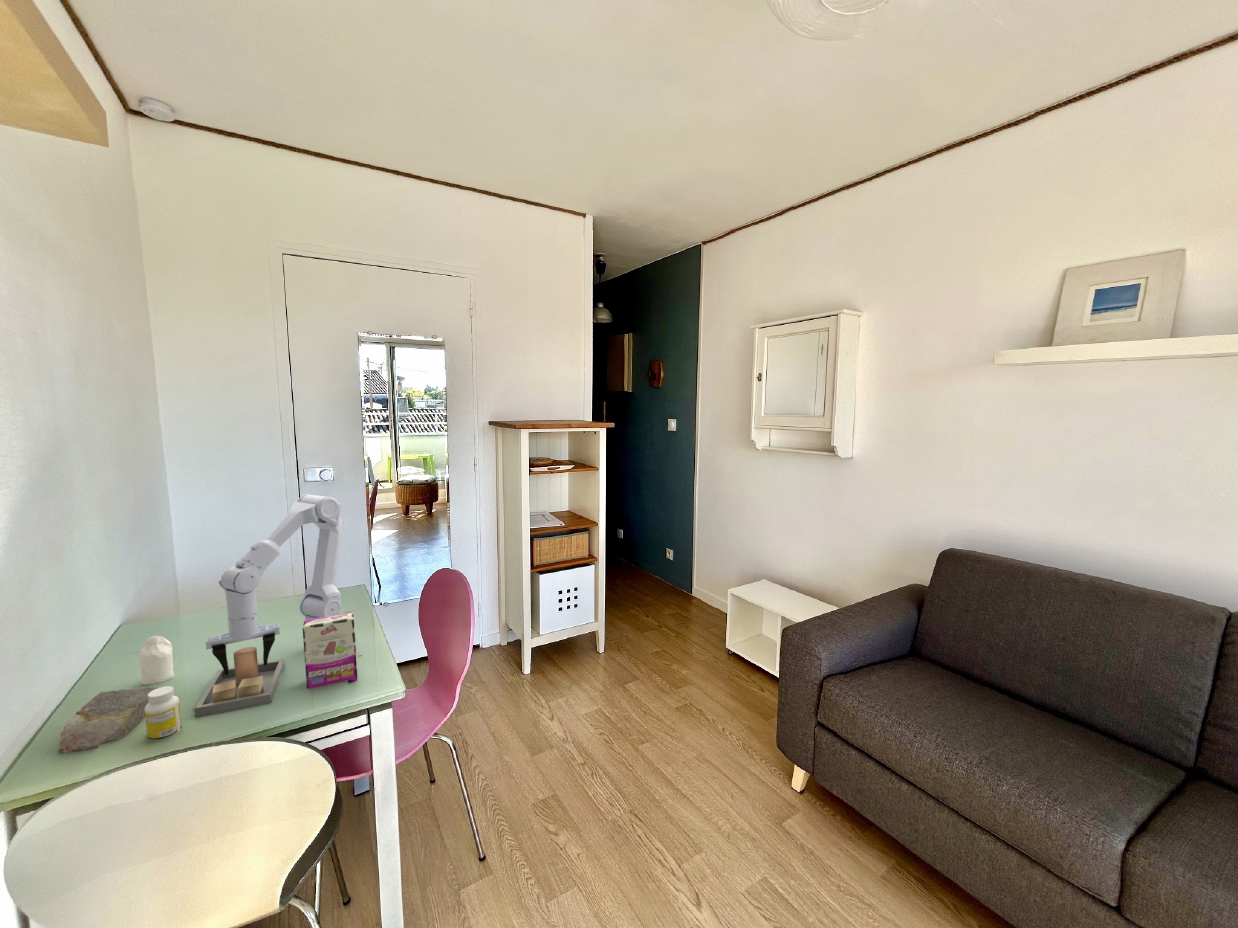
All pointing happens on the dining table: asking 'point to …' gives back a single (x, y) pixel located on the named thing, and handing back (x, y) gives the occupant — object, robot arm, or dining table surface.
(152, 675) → the white sack
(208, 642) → the robot arm
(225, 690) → the beech block
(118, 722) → the geological specimen
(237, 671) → the flesh-toned capsule
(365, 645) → the dining table surface
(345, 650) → the candy bar box
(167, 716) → the supplement bottle
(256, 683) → the beech block
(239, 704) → the tray
